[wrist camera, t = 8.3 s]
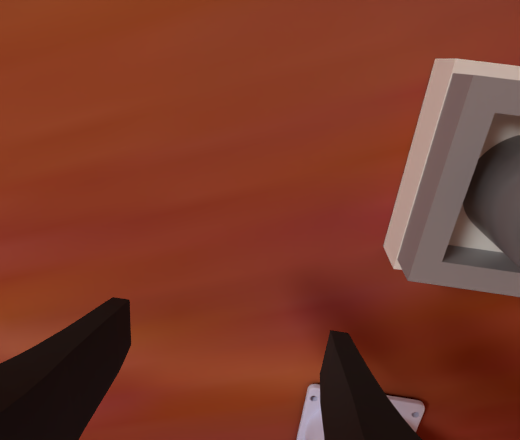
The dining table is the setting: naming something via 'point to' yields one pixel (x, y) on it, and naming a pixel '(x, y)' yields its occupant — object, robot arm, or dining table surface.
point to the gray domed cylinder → (497, 197)
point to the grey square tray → (454, 179)
